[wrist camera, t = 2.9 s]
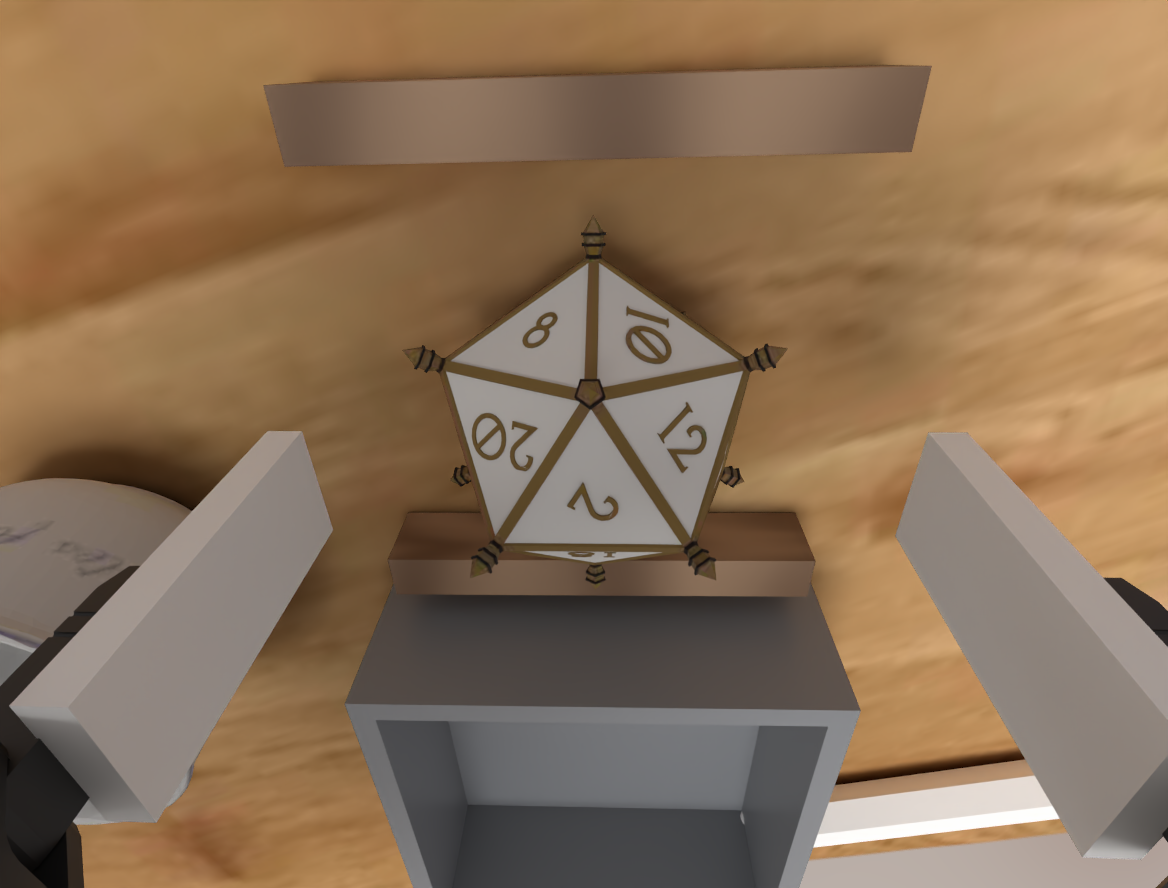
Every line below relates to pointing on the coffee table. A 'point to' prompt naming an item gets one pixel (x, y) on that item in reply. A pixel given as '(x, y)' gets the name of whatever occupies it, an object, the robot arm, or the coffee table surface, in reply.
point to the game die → (595, 421)
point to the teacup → (70, 561)
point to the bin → (603, 738)
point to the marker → (934, 803)
